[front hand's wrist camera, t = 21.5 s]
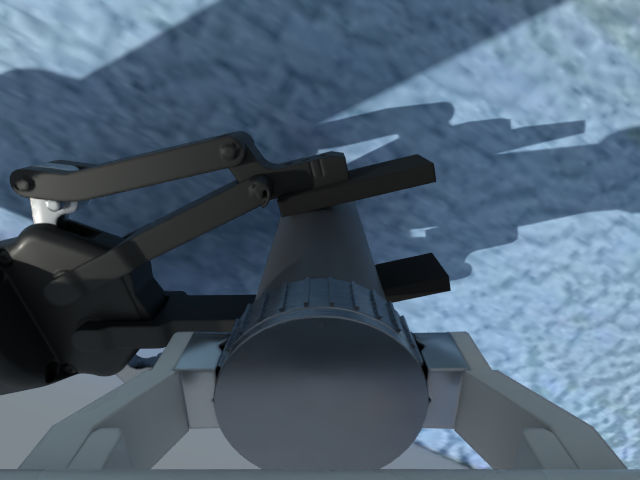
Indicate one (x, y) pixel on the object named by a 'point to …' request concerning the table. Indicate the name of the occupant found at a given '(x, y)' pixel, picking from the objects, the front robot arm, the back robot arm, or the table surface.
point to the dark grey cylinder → (321, 250)
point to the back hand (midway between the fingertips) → (432, 221)
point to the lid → (321, 379)
